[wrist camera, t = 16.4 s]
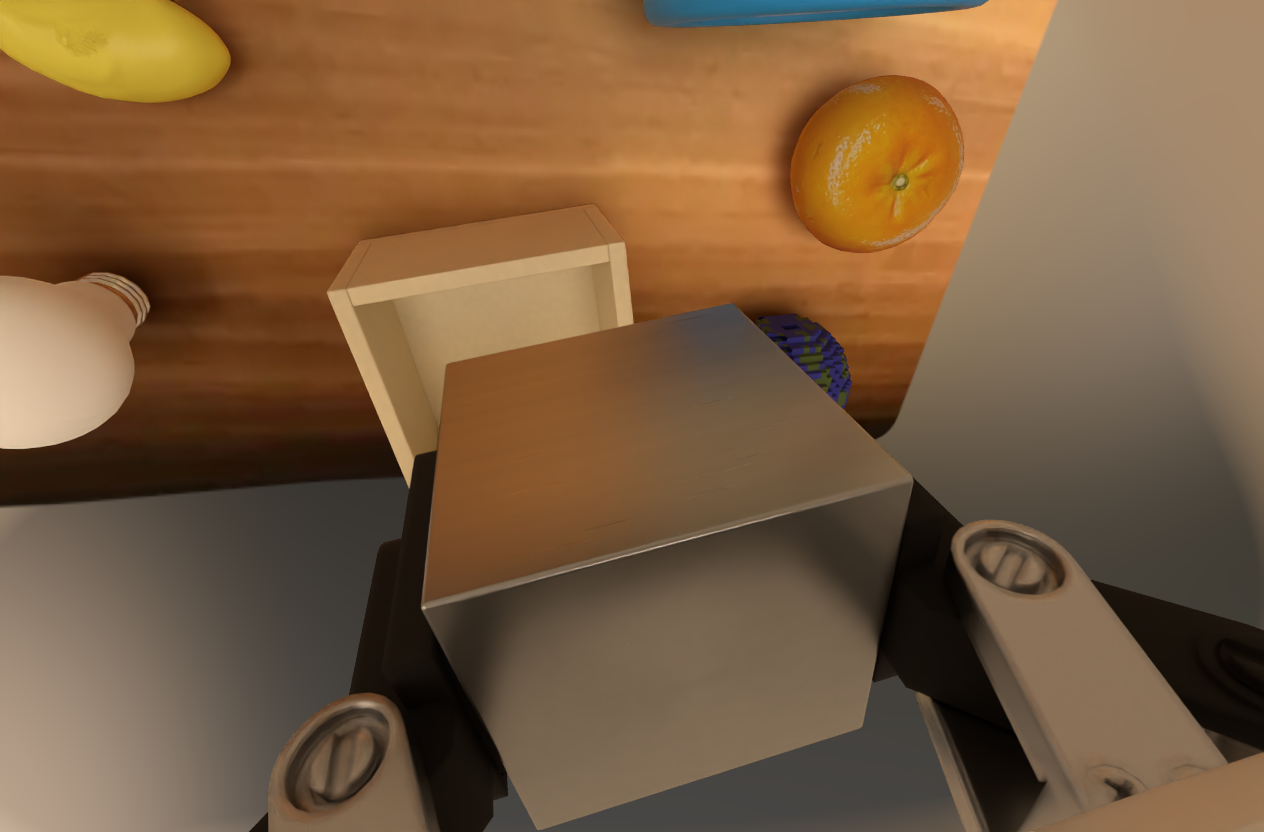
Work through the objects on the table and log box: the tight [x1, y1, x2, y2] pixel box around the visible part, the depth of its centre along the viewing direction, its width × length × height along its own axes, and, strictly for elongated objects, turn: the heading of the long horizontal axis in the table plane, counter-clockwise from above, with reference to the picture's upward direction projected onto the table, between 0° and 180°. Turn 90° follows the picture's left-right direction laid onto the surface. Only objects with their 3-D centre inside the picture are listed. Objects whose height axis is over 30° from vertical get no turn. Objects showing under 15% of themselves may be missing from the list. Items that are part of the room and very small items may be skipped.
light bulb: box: [0, 272, 151, 449], centre depth 24 cm, size 7×7×11 cm
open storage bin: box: [327, 204, 634, 488], centre depth 30 cm, size 13×13×8 cm
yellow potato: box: [0, 0, 231, 103], centre depth 22 cm, size 4×8×4 cm, turn 78°
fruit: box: [790, 75, 964, 253], centre depth 30 cm, size 8×8×8 cm
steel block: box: [421, 303, 913, 830], centre depth 9 cm, size 5×5×5 cm
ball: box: [754, 314, 852, 410], centre depth 36 cm, size 8×8×8 cm
